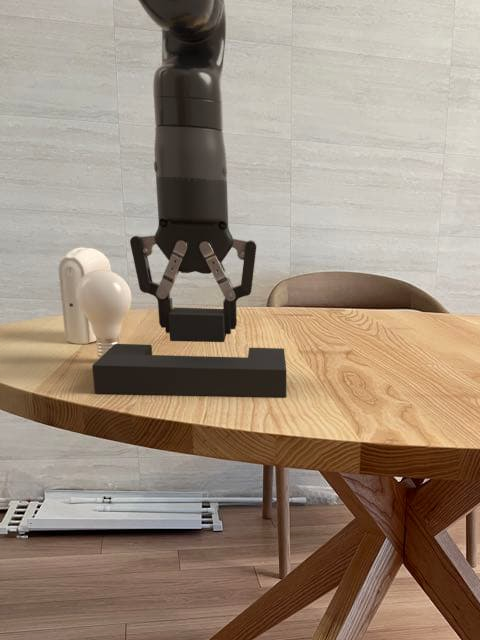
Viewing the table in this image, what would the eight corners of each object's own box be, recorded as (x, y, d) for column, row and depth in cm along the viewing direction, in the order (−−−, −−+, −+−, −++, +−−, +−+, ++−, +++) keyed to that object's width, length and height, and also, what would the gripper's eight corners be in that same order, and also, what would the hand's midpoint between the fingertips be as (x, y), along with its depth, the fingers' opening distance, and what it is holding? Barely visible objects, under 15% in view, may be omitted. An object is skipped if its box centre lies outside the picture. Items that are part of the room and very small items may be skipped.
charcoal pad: (94, 393, 87) (91, 365, 86) (116, 368, 99) (114, 343, 98) (286, 397, 90) (286, 369, 89) (284, 372, 103) (284, 348, 101)
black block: (169, 341, 93) (168, 313, 92) (175, 333, 98) (173, 307, 97) (224, 342, 94) (223, 315, 93) (226, 334, 99) (225, 308, 98)
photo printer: (91, 345, 114) (83, 250, 109) (61, 343, 114) (51, 248, 109) (120, 334, 123) (113, 247, 118) (91, 332, 123) (84, 245, 119)
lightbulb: (145, 360, 106) (140, 270, 101) (116, 367, 100) (109, 272, 96) (103, 355, 107) (95, 266, 103) (71, 362, 101) (62, 268, 97)
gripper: (259, 179, 94) (261, 329, 101) (128, 172, 92) (139, 326, 98) (258, 178, 87) (261, 339, 94) (117, 170, 85) (129, 336, 91)
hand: (198, 332), depth 96 cm, fingers closed on black block, 6 cm apart
